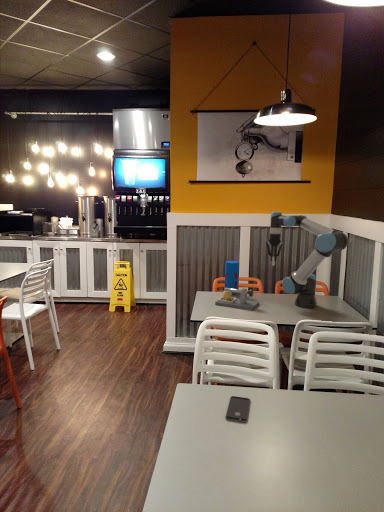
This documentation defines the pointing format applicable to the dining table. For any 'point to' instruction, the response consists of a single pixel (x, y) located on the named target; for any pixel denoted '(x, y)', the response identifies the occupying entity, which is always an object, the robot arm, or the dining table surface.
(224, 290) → the retaining shaft
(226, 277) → the thermos
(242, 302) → the keeper base
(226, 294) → the spacer collar
